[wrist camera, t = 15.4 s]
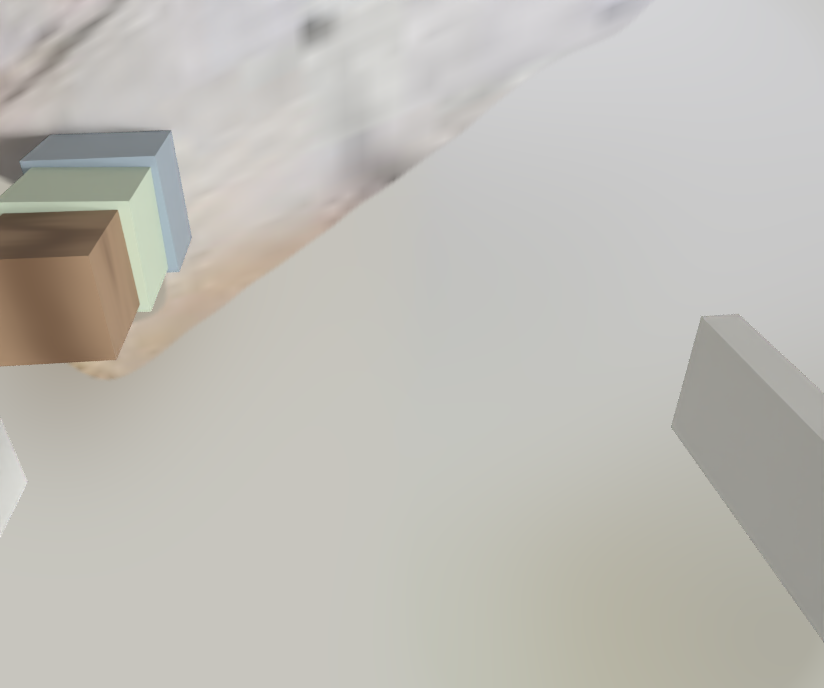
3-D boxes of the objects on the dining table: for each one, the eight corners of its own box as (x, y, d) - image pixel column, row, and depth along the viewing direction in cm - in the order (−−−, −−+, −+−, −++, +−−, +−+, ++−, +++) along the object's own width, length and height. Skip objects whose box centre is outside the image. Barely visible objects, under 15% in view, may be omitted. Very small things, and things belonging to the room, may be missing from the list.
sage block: (59, 270, 45) (28, 315, 40) (31, 167, 41) (-7, 202, 36) (168, 268, 46) (150, 311, 41) (150, 166, 42) (129, 201, 37)
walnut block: (34, 309, 40) (-5, 366, 35) (2, 213, 36) (-46, 261, 31) (139, 304, 40) (116, 359, 35) (117, 209, 37) (88, 255, 32)
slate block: (82, 242, 50) (56, 278, 45) (50, 134, 46) (19, 161, 41) (191, 236, 51) (179, 271, 46) (171, 130, 47) (155, 155, 42)
